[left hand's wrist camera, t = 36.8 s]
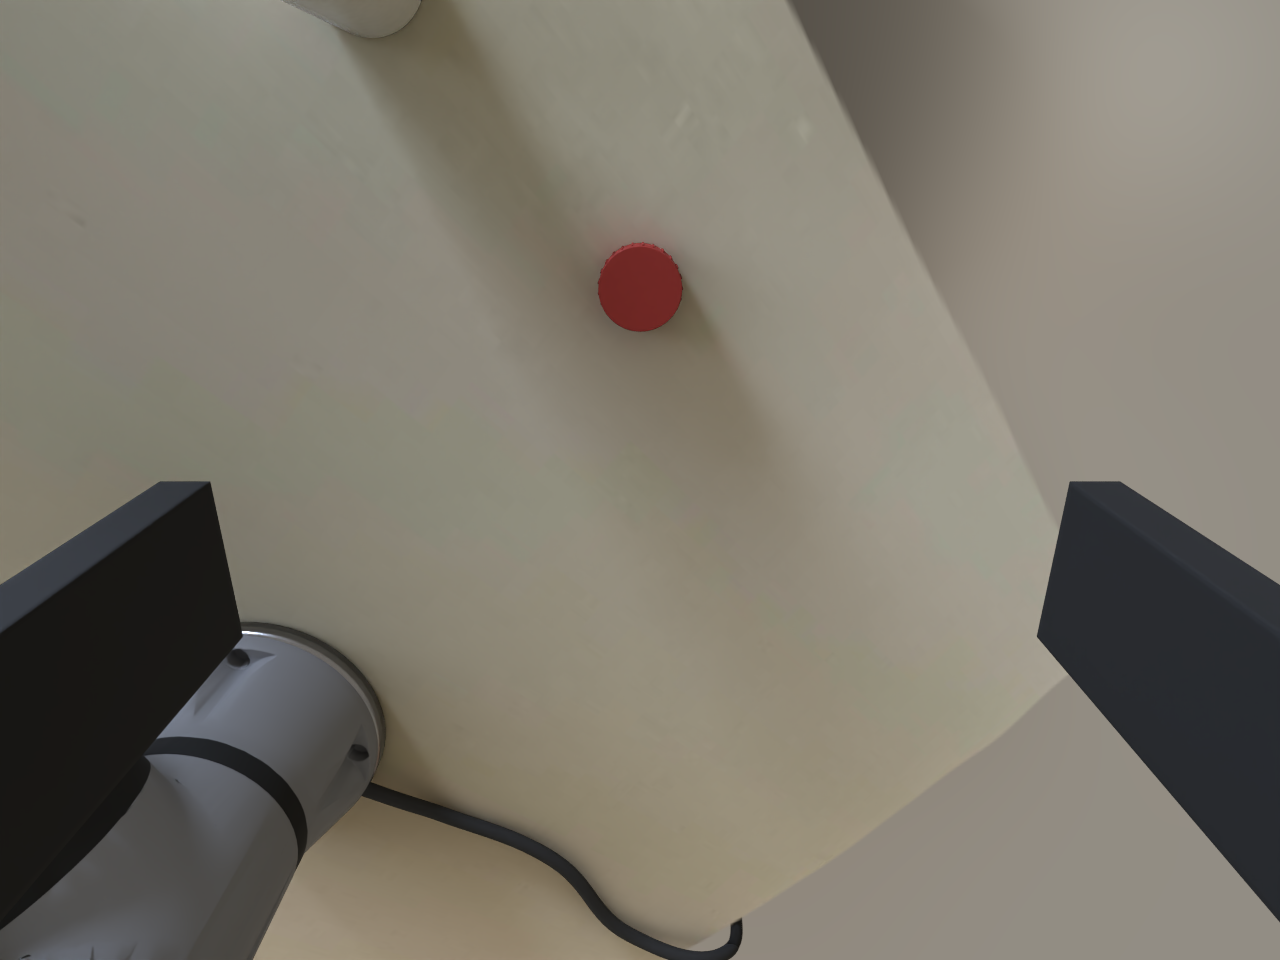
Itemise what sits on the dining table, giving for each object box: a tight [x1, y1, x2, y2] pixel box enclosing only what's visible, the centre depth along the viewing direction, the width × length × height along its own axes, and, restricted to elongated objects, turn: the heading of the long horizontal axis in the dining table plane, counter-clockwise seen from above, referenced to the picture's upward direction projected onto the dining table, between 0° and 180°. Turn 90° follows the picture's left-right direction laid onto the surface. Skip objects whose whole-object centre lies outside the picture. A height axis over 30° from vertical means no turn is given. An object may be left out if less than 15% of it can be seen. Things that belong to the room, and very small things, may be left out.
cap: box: [598, 242, 683, 332], centre depth 41 cm, size 4×4×2 cm
